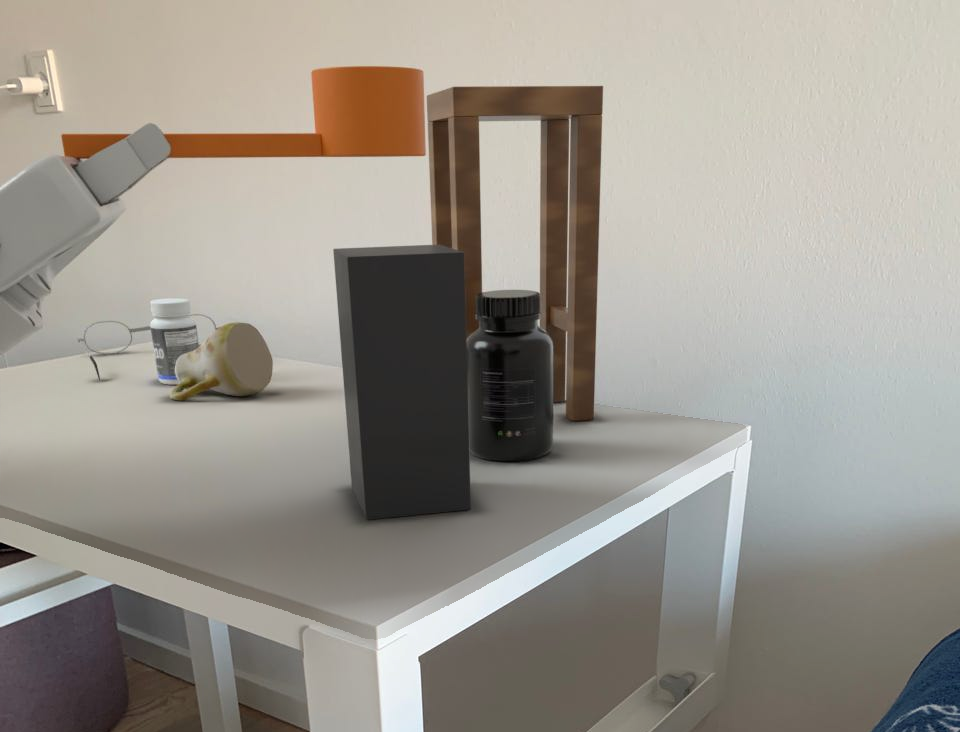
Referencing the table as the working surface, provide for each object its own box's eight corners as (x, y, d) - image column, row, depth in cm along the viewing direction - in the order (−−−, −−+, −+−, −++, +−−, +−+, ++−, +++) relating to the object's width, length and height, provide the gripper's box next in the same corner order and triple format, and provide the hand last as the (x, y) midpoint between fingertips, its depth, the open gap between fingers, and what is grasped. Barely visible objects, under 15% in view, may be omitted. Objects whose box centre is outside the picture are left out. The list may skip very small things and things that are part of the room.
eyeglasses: (223, 343, 132) (219, 311, 130) (259, 369, 117) (255, 334, 115) (79, 355, 125) (73, 322, 124) (97, 386, 110) (91, 348, 108)
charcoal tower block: (366, 520, 65) (347, 256, 58) (351, 489, 71) (333, 248, 64) (471, 509, 66) (464, 252, 60) (448, 481, 73) (439, 244, 66)
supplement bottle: (469, 441, 83) (465, 288, 78) (551, 439, 83) (553, 286, 77) (465, 463, 77) (460, 299, 72) (554, 462, 76) (556, 297, 71)
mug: (197, 385, 108) (234, 301, 104) (258, 435, 105) (298, 350, 101) (145, 380, 101) (181, 289, 97) (208, 433, 98) (248, 342, 94)
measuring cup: (60, 158, 53) (43, 61, 51) (73, 159, 58) (59, 72, 56) (435, 155, 57) (433, 66, 55) (414, 156, 63) (412, 76, 61)
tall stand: (462, 430, 86) (452, 86, 75) (438, 406, 95) (426, 95, 84) (594, 419, 89) (603, 85, 78) (558, 397, 98) (562, 94, 86)
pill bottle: (156, 379, 110) (143, 299, 107) (199, 375, 112) (188, 296, 108) (161, 386, 106) (149, 304, 103) (206, 382, 108) (195, 301, 104)
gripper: (-135, 234, 46) (112, 62, 46) (-40, 217, 64) (138, 94, 64) (-33, 352, 49) (200, 192, 49) (31, 304, 67) (201, 187, 67)
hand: (165, 136), depth 56 cm, fingers closed on measuring cup, 2 cm apart
